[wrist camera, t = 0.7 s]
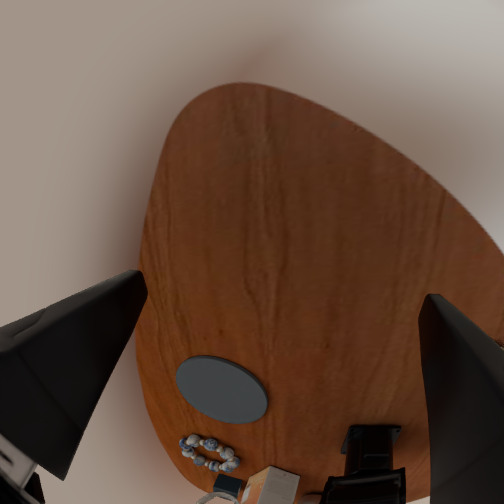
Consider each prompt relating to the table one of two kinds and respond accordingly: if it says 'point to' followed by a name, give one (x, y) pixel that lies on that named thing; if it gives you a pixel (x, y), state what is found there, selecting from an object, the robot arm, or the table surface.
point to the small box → (271, 487)
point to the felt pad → (221, 389)
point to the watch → (224, 489)
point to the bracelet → (211, 446)
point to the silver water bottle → (310, 499)
